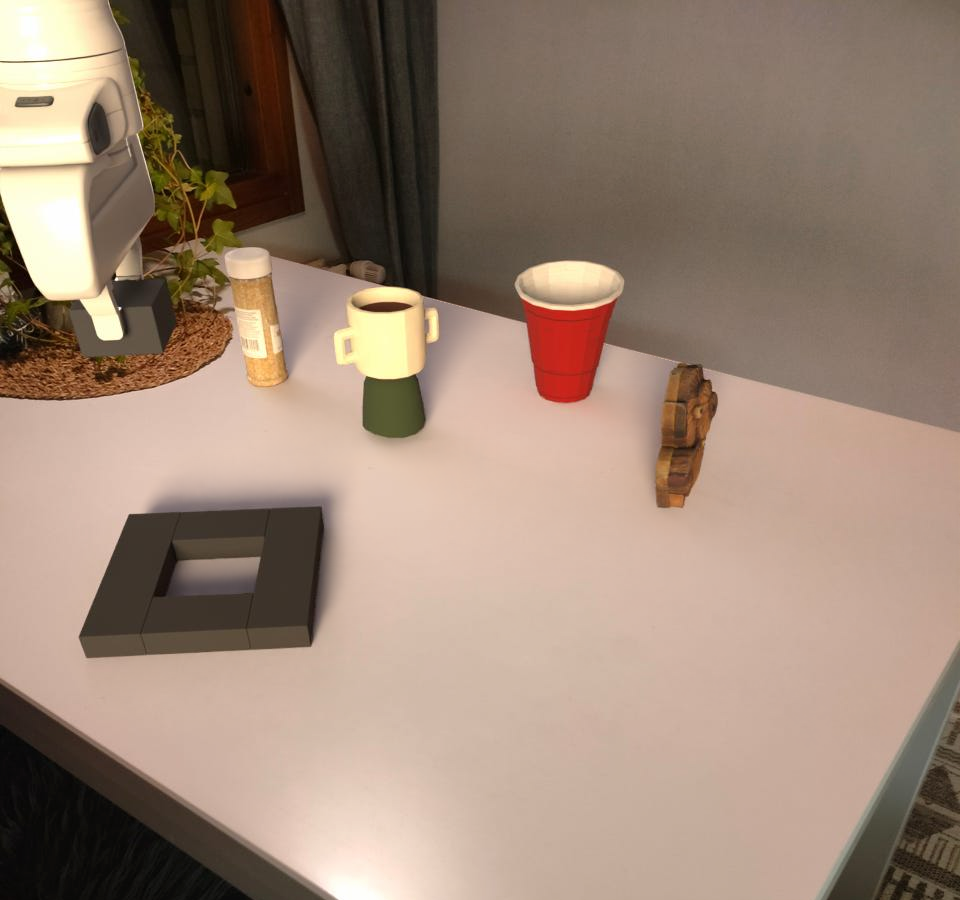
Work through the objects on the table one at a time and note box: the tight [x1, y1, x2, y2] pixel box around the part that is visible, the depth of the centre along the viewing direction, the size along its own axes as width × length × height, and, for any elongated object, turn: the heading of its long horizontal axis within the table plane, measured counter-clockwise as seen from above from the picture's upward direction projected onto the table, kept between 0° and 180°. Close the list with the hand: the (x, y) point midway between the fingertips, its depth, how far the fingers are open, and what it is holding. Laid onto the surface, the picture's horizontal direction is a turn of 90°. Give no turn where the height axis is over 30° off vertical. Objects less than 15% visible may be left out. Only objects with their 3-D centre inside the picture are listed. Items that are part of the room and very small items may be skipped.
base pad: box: [78, 505, 325, 659], centre depth 71 cm, size 16×16×2 cm
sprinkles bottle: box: [224, 246, 289, 387], centre depth 96 cm, size 5×5×14 cm
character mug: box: [333, 286, 440, 439], centre depth 87 cm, size 11×7×13 cm, turn 123°
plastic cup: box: [514, 259, 626, 404], centre depth 94 cm, size 11×11×12 cm
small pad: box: [68, 278, 178, 358], centre depth 68 cm, size 6×6×4 cm
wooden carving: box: [654, 362, 719, 509], centre depth 81 cm, size 16×5×10 cm, turn 167°
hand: (124, 317), depth 68 cm, fingers closed on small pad, 6 cm apart
